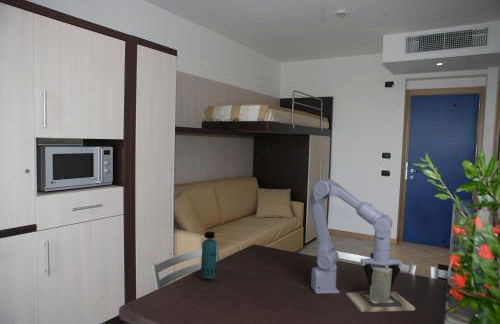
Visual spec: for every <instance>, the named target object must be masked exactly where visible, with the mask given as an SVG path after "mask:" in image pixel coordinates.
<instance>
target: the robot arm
mask: <svg viewBox="0 0 500 324" xmlns="http://www.w3.org/2000/svg"><path fill="white" fill-rule="evenodd" d="M328 197H335V198H339V199H341V200H342V201H343V202H345V203H347V204H348V205H349V206H350V207H352V208H353V209H355V211H356V215H357V216H359V217H360V218H361V219H363V220H364V221H365V222H367V223H368V224H370V225H372V227H373V229H374V235H373V252H372V253H373V258H371V257H370V258H368V257H367V258H360V265H361V266H362V268H363V270H364V272H365V275H366V276H365V277H366V280H367V284H368V286H369V287H370V286H371V285H372V273H373V269H372V267H373V266H372V265H376V266H385V267H388V268H391V269H392V278H391V287H393V286H394V282H395V280H396V278H397V276H398V274H399V273H400V272H401V268H402V267H403V261H402V260H400V259H392V258H391V247H392V246H391V241H392V236H391V235H392V233H391V232H392V231H391V229H392V227H393V220H392V219H391V217H390V216H389V215H387V214H384V212H382V211H380V210H378V209H376V208H375V207H373V204H372V203H371V202H369V203H368V202H367V201H362V202H361V201H360V200H359V199H358V198H356V197H355V196H353V194H352V193H350V192H349V191H348V190H347V189H345V188H344V187H343V186H342V185H340V183H337V182H335V181H334V180H333V179H331V178H325V179H321V180H317V181H316V182H315V183H314V184H313V185H312V187H311V192H310V195H309V198H308V206H309V209H310V213H311V218H312V222H313V223H312V224H313V229H314V231H315V237H316V241H317V248H316V249H317V250H316V255H317V257H316V263H317V266H316V267H312V269H311V279H310V281H311V282H310V283H311V284H310V287H311V288H312V290H313V291H314V293H315V294H317V295H318V294H340V290H339V289H337V271H338V270H337V269H338V267H337V262H338V261H339V259H340V258H339V257H340V256H339V253H338V251H337V250H336V249H335V245H334V243H333V242H332V240H331V235H330V231H329V227H328V223H327V218H326V213H325V208H324V204H323V203H324V202H325V200H326V199H327V198H328Z"/></svg>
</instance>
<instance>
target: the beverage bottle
mask: <svg viewBox="0 0 500 324" xmlns="http://www.w3.org/2000/svg"><path fill="white" fill-rule="evenodd" d="M204 233H205V234H204V238H205V239H204V240H203V241H202V242H201V266H200V270H201V271H200V273H201V274H200V276H201V278H203V279H206V280H207V279H208V280H209V279H215V278H216V276H217V266H218V265H217V255H218V254H217V251H218V250H217V248H218V242H217V241H216V240H215V238H216V236H215V232H214V231H206V232H204Z"/></svg>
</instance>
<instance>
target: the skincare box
mask: <svg viewBox="0 0 500 324" xmlns="http://www.w3.org/2000/svg"><path fill="white" fill-rule="evenodd" d="M372 269H373V273H372V285H371V286H370V285H369V291H370V298H371V299H374V300H376V301H379V302H382V303H387V302H388V301H389V299H390V292H391V287H392V286H391V278H392V269H391V268H388V266H376V265H374V266H372Z"/></svg>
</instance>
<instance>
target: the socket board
mask: <svg viewBox="0 0 500 324" xmlns="http://www.w3.org/2000/svg"><path fill="white" fill-rule="evenodd" d="M346 297H347V298H348V299H349V300H350V301H351V302H352V303H353V305H355V307H356V308H357V309H358V311H360V312H362V313H369V312H370V313H371V312H373V313H374V312H375V313H376V312H403V311H405V312H407V311H410V312H411V311H415V310H416V307H415V306H414V305H413V304H411V303H410V302H409V301H407V300H406V299H405V298H404V297H403V296H401V295H400V294H399V293H398V292H397V291H390V299H389V301H388V302H387V303H382V302H379V301H376V300H374V299H371V298H370V290H359V291H357V292H346Z"/></svg>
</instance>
